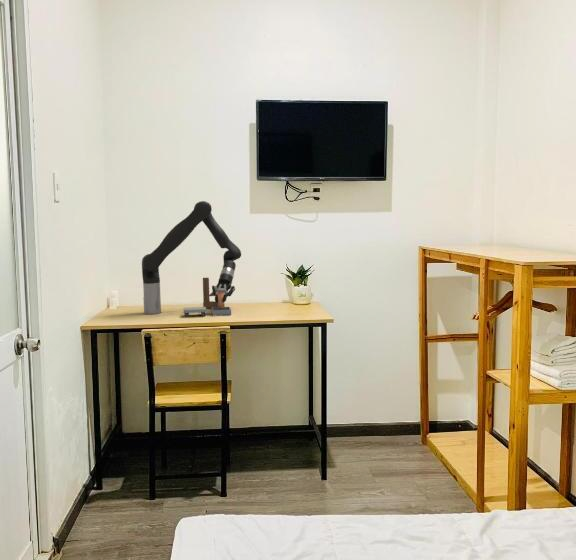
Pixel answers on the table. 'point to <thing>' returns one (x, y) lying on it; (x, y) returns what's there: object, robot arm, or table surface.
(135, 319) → the table surface
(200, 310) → the trolley
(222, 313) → the tray
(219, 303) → the stop pin
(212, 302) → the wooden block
